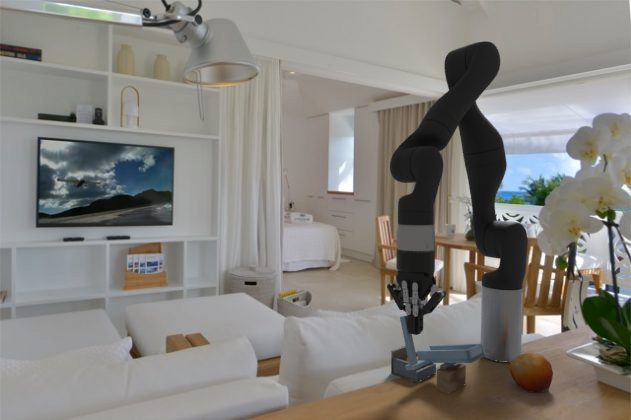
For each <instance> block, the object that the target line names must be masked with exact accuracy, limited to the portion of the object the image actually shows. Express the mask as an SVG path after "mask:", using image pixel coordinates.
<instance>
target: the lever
mask: <svg viewBox="0 0 631 420" xmlns="http://www.w3.org/2000/svg"><path fill="white" fill-rule="evenodd" d="M399 319H400V325H401V330H402V331H401V332H402V335H403V341H404V343H405V344H404V346H406V350H407V355H408V360H409V364H408V365H406V366H405V367H406V370H416V369H418V368H420V367H422V366H425V365H427V364H429V363H435V364H444V363H460V364H472V363H474V362H477V361H478V360H480V359H482V358H485V357H484V356H485V355H484V350H483V346H482V344H481V343H469V344H466V343H463V344H434V345H433V344H432V345H429V350H428V349H427V350H425V349H424V350H416V349H415V348H416V347H415V344H414V339H413V334H410V333H409V330H408V328H407V315H401V316H399ZM416 352H417V356H418V361H417V357H416Z"/></svg>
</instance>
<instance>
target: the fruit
mask: <svg viewBox="0 0 631 420" xmlns="http://www.w3.org/2000/svg"><path fill="white" fill-rule="evenodd" d="M508 370H509V373H510V375H511V378H512V379H513V381H514V382H515V383H516V385H517V387H518V386H519V387H520V388H521V389H522V390H524V391H526V392H528V393H535V394H536V393H542V392H547V393H550V392H549V391H550V387H551V385H552V380H553V376H554V372H553V368H552V364H551V362H550V361H549V360H548V359H547V358H546V357H545V356H544V355H541V354H539V353H534V352H528V353H527V352H525V353H521V355H519V356H517V357H516V358H515V359H514V360H512V361H511V363H509V365H508Z"/></svg>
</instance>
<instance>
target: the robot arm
mask: <svg viewBox="0 0 631 420" xmlns="http://www.w3.org/2000/svg"><path fill="white" fill-rule="evenodd" d="M500 67H501V56H500V52H499V49H498V47H497V45H496V44H495V43H494V42H492V41H491V40H478V41H476V42H475V41H474V42H472V43H470V44H468V45H465V46H461V47H458V48H455V49H453V50H451V51H449V52H448V53H447V55H446V56H445V59H444V76H445V79H446V80H445V81H446V84H447V89H448V90H447V91H446V92H445V93H444V94H442V96H440V97H439V98H438V99H437V100H436V101H435V102H434V103H433V104H432V105H431V106H430V107H429V108H428V110H427V112H426V114H425V115H424V116H423V119H422V120H421V122H420V123H419V125H418V127H417V128H416V129H415V130H414V131H413V132H411V134H410V135H409V136H407V137H406V139H404V141H403V142H402V143H401V144H400V145H398V147H397V148H395V151H394V152H393V154H392V156H391V158H390V162H389V172H390V175H391V176H392V178H393V179H394V180H395V181H397V182H399V183H404V184H406V183H407V184H408V183H409V184H410V183H411V184H412V183H414V184H415V185H414V187H413V190H412V192H410V193H408V194H405V195H402V196H400V198H399V199H398V201H397V202H398V203H397V230H396V245H395V246H396V247H395V248H396V253H395V254H396V256H395V257H396V258H395V259H396V260H395V261H396V263H395V265H396V270H397V274H396V276H395V280H394V281H393V282H391V283H388V284H387V285H386V288H387V291H388V292H389V294H390V295H391V297H392V299H393V301H394V303H395V304H396V306H397V308H398V309H399V311H403V312H405V314H406V316H407V328H408V330H409V333H410V334H412V335H414V336H418V335H420V334H422V332H423V330H424V317H425V316H426V315H429V314H431V313H433V312H434V310H435V309H436V308H437V307H438V305H439V304H440V303H441V302H442V301H443V299H445V297H446V296H447V291H445V290H444V289H443V290H441V289H440V288H439V287H438V286H437V281H436V279H435V275H434V273H435V271H436V270H435V269H436V233H435V220H434V218H435V212H434V211H435V202H436V198H437V194H438V191H439V187H440V184H441V181H442V176H443V173H444V159H443V156H442V154H441V151H444V149H446V147H447V145H448V144H449V143H450V141H451V139H452V138H453V135H454V134H455V132H456V130H457V128H458V131H459V137H460V142H461V143H460V144H461V149H462V156H463V161H464V167H465V171H466V176H467V181H468V188H469V192H470V193H469V195H470V200H471V202H470V203H471V212H472V223H473V236H474V243H475V246H476V248H477V251H478V252H479V253H480V254H481V256H484V257H487V258H493V259H499V266H498V267H497V268H496V269H494V270H492V271H486V272H484V273H483V274H482V276H481V295H480V296H481V300H480V301H481V306H480V307H481V309H480V310H481V311H480V344H482V346H483V350H484V355H485V356H484V357H483V358H485V357H486V358H485V359H487V358H488V359H487V360H489V359H492V360H491V361H493V360H497V361H507V362H511V361H512V360H514V359H515V358H516V357H517V356H519V355H521V354H522V342H523V341H522V338H523V337H522V335H523V332H522V331H523V290H524V289H523V287H524V285H523V284H524V280H525V277H526V269H527V268H526V267H527V258H528V257H527V256H528V247H529V246H528V244H529V243H528V242H529V241H528V233H527V229H526V227H525V226H524V225H523V224H522V223H521V222H518V221H505V220H498V219H497V215H496V207H495V206H496V205H495V203H496V197H497V194H498V191H499V188H500V186H501V185H502V182H503V181H504V177H505V175H506V172H507V168H508V167H507V163H508V162H507V157H506V149H505V145H504V140H503V137H502V135H501V134H500V132H499V131H498V130H497V128H496V127H495V126H494V125H493V124H492V123H491V121H490V120H489V119H488V118H487V117H486V116H485V115H484V114H483V112H482V111H481V110H480V108H479V106H478V104H477V100H478V99H479V98H480V96H482V94H483V93H484V92H485V90H486V89H487V88H488V87H489V86H490V85H491V84H492V82H493V81H494V80H495V79H496V77H497V75H498V74H499V71H500V69H501V68H500ZM428 297H430V298H429V299H428ZM497 361H496V362H497Z"/></svg>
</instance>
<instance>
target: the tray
mask: <svg viewBox="0 0 631 420" xmlns="http://www.w3.org/2000/svg"><path fill="white" fill-rule="evenodd" d="M415 352H416V356H417V351H415ZM390 353H391V360H390V361H391V362H390V363H391V366H390V373H391V375H393V376H397V377H399V378H403V379H405V378H407V379H406V380H408V379H410V380H409V381H411V380H413V381H415V382H414V383H416V382H418V383H420V382H421V381H420V380H422V381H424V380H426V379H428V378H429V377H428V376H430V375H432V374H434V373H436V374H437V363H429V364H427V365H425V366H422V367H421V369H420V370H417V371H416V370H406V367H405V366H406V365H408V364H409V362H407V361H406V359H407V358H408V355H407V350H406V345H404V346H401V347H399V348H398V347H397V348H395V349H392V350H391V352H390ZM417 357H418V356H417ZM434 375H435V374H434ZM432 376H433V375H432ZM427 377H428V378H427ZM430 377H431V376H430ZM425 378H426V379H425ZM423 379H424V380H423ZM413 381H412V382H413ZM419 381H420V382H419Z"/></svg>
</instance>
